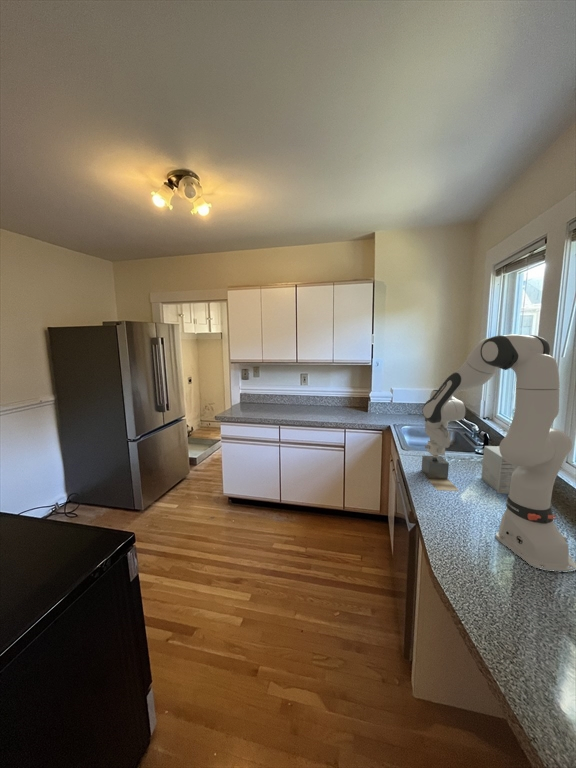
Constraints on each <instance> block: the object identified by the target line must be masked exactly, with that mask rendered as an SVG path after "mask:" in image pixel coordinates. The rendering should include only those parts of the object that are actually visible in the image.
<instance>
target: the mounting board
mask: <svg viewBox="0 0 576 768" xmlns="http://www.w3.org/2000/svg"><path fill="white" fill-rule="evenodd" d="M420 472H421V473H422V474H423V475H424V476H425V474H424V473H423V472H422V471H421V470H420ZM425 477H426V476H425ZM426 479H427V481H428V482H429V483H431V485H432V486H433V487H434V488H435V489H436V491H449V492H451V491H452V492H460V490H459V488H457V487H456V486H455V485H454V484H453V483H452V481H451V480H449V479H428V478H427V477H426Z"/></svg>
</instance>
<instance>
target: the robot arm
mask: <svg viewBox="0 0 576 768" xmlns="http://www.w3.org/2000/svg"><path fill="white" fill-rule="evenodd" d="M550 351H551V347H550V343H549V342H548V341H547V340H546V339H545V338H543V337H541V336H538V335H533V334H529V335H527V334H526V335H525V334H506V335H495V336H491V337H486V338H483V339H481V340H480V341H479V342H478V343H477V344H476V345H475V347H474V348H473V349H472V350H471V351H470V353H468V354H469V355H468V356H467V358H466V359H465V361H464V362H463V363H462V365H461V366H460V367H459V368H458V369H457V370H455V371H454V372H453V373H451V374H450V375H448V377H447V378H446V379H445V380H444V382H443V383H442V384H441V385H440V387H439V388H438V389H433V390H431V393H430V395H429V399H428V400H427V401H426V402H425V403H424V404H423V407H422V416H423V417H424V422H425V424H424V425H425V426H424V432H425V435H426V436H427V437H429V441H435V442H436V443H437V444H438V449H437V452H438V453H442V449H443V447H444V448H445V449H446V448H447V449H448V448H449V447H450V445H451V434H450V431H449V430H448V427H449V422H456V421H457V422H459V421H462V420H464V419H465V417H466V415H467V406H466V403H464V401H462V400H460V399H458V398H456V397H454V395H455V394H457V393H459V392H461V391H463V390H467V389H471V388H475V387H479V386H480V387H481V386H482V385H485V384H486V383H487V382H488V381H489V380H491V379H492V377H493V376H494V374H495V373H496V372H497V370H498V369H500V370H504V371H507V370H509V369H511V370H513V372H514V373H515V379H516V380H515V404H514V406H515V408H514V413H513V416H512V419H511V420H512V421H511V424H510V427H509V429H508V430H507V433H506V435H505V436H504V438H502V440H501V441H500V443H499V445H498V446H499V450H500V453H501V456H502V457H503V459H504V460H505V461H506V462H508V463H509V464H511V465H514V466H518V467H517V468H516V470H515V471H514V472H513V473H512V476H511V482H510V491H509V494H507V497H506V500H505V502H506V509H505V511H504V513H502V517H501V520H500V525H499V528H498V531H497V532H496V533H495V536H494V538H495V539H496V540H497V541H498V542H500V543H501V544H502V543H503V545H504V546H505V547H506V546H507V547H508V548H507V547H506V548H507V549H509V550H510V549H511V550H512V551H513V552H514V553H513V554H515V555H516V554H517V555H518V556H520V557H521V558H522V559H523V560H525V561H526V562H527V563H528V564H530V565H531V566H533V567H537V568H542V569H546V570H554V571H569V570H573V569H575V568H576V562H575V561H574V559H573V558H572V557H571V556H570V551H569V546H568V543H567V542H568V540H567V537H566V536H565V535H563V534H562V533H561V532H560V531H559V529H558V527H557V525H556V524H555V522H554V520H555V519H556V517H557V515H555V514H553V510H552V506H551V504H552V494H553V488H554V485H555V483H556V482H555V481H556V479H557V477H558V474H559V472H560V470H561V468H562V465H563V464H564V461H565V459H566V457H567V456H568V455H569V454H570V452H571V451H572V449H573V442H572V439H571V437H570V436H569V435H568V434H567V433H566V432H564V431H563V430H561V429H559V428H558V429H557V428H551V427H552V426H553V423H554V420H555V419H556V418H557V417H558V415H559V412H560V383H561V382H560V373H559V372H560V371H559V368H558V363H557V360H556V359H555V358H554V357H553V356H551V355H550ZM511 550H510V551H511ZM512 551H511V552H512ZM517 555H516V556H517ZM518 556H517V557H518ZM520 557H519V558H520ZM521 558H520V559H521ZM522 559H521V560H522ZM523 560H522V561H523ZM525 561H524V562H525ZM526 562H525V563H526ZM527 563H526V564H527ZM528 564H527V565H528ZM530 565H529V566H530ZM531 566H530V567H531ZM542 566H543V567H542ZM568 566H570V567H572V568H570V567H568ZM533 567H532V568H533Z"/></svg>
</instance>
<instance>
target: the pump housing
mask: <svg viewBox="0 0 576 768" xmlns="http://www.w3.org/2000/svg"><path fill="white" fill-rule="evenodd" d="M424 448H425V449H426V452H428V453H429V454H430V456H433V455H438V456H445V454H446V448H444V447H443V449H442V453H438V452H437V449H438V444H437V443H436V442H435V441H430V440H427V444H425V445H424Z"/></svg>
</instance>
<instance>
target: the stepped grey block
mask: <svg viewBox="0 0 576 768" xmlns="http://www.w3.org/2000/svg"><path fill="white" fill-rule="evenodd" d="M421 457H422V458H421V469H420V472H421V471H422V472H423V473H424V474H425V475H424V474H423V473H422V472H421V473H422V474H423V475H424V477H427V478H428V479H448V478H449V476H448V475H449V470H450V469H449V468H450V467H449V466H450V462H448V461H447V460H446V459H444V457H442V455H422V456H421ZM427 478H426V479H427ZM428 479H427V480H428ZM448 480H449V479H448Z"/></svg>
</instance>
